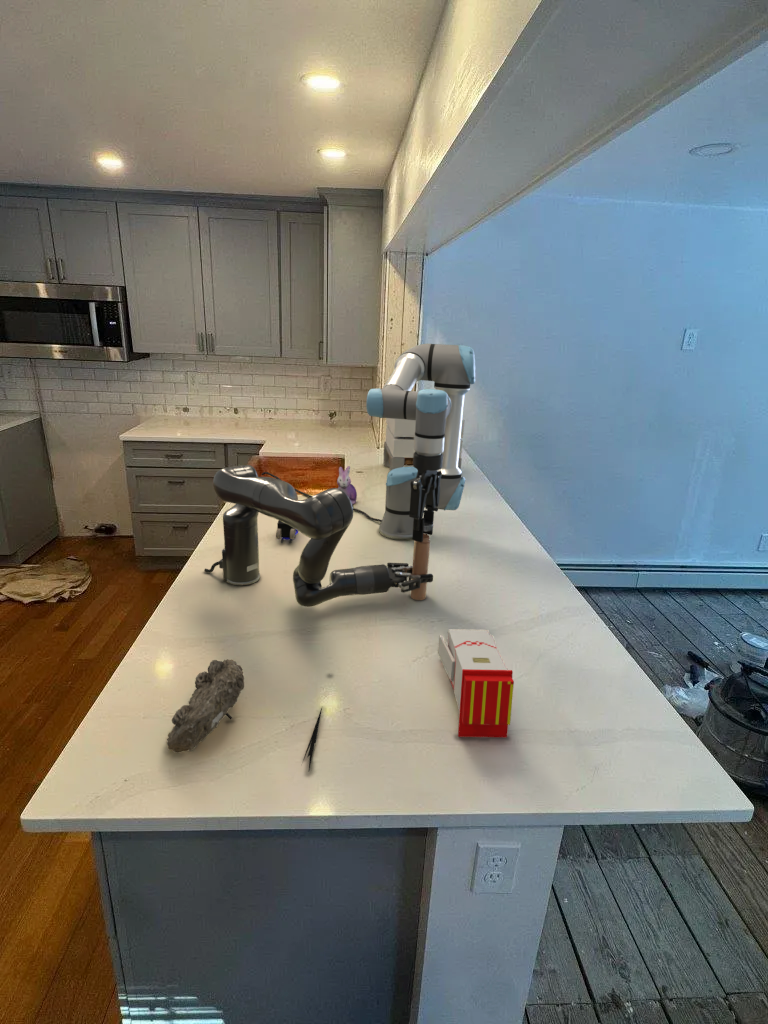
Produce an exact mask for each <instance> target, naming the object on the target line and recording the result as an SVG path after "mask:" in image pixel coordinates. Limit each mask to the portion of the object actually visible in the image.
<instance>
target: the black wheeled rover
mask: <svg viewBox="0 0 768 1024" xmlns="http://www.w3.org/2000/svg"><path fill="white" fill-rule="evenodd" d="M298 534H299V531H298V530H296V529H294V528H293V527H291V526H290V525H288V524H286V523H283V522H281V521H279V520H278V521H277V526H276V532H275V539H276V540H280V544H283V543H284V541H288V542H289V544H292V542H293V540H295V539H296V535H298Z"/></svg>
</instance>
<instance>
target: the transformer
mask: <svg viewBox="0 0 768 1024" xmlns="http://www.w3.org/2000/svg"><path fill="white" fill-rule="evenodd" d="M385 423H386V428H385V438H384V442H383V466H384V467H388V468H389V472H390V471H391V470H393V469H396V468H400V467H405V466H406V467H414V466H413V454H414V452H416V451H415V450H414V437H415V425H416V420H407V419H392V418H385ZM464 429H465V419H464V418H462V427H461V438H460V449H459V460H458V468H459V469H460V470H461V471H462V461H463V460H462V453H463V442H464V441H463V440H462V439H463V438H464V431H465V430H464Z"/></svg>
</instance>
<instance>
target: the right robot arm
mask: <svg viewBox="0 0 768 1024" xmlns="http://www.w3.org/2000/svg"><path fill="white" fill-rule="evenodd" d="M419 381H425V382H433V387H434V388H425V389H420V390H419V391H413V389H414V386H415V385H416V383H418V382H419ZM475 383H476V356H475V350H474V348H473V347H471V346H468V345H463V344H462V345H461V344H443V343H421V344H418V345H415V346H412V347H410V348H408V349H406V350H405V351H403V352H402V353H401V354H399V356H398V357H397V358H396V359H395V363H394V368H393V371H392V372H391V374H390V376H389V377H388V378H387V380H386V382H385V384H384V385H383V387H382V388H380V387H378V388H370V389H369V390H368V392H367V395H366V402H365V403H366V406H365V407H366V412H367V415H368V416H369V417H372V418H373V417H374V418H380V419H386V418H392V419H407V420H416V425H415V437H414V450H415V451H416V452H414V454H413V466H404V467H400V468H396V469H393V470H391V471H390V470H389V472H388V473H387V475H386V482H385V504H384V505H385V507H384V508H385V509H384V513H383V515H382V519H381V518H374V517H372V516H370V515H368V514H367V512H365V511H363V510H361V509H358V508H354V507H353V512H357V513H359V514H362V515H364V517H366V518H367V519H369V520H371V521H373V522H374V521H375V522H379V525H378V533H379V534H380V535H381V536H382V537H385V538H387V539H389V540H395V541H410V540H412V541H414V540H415V541H418V542H423V534H427V535H429V536H433V534H434V533H433V532H434V528H433V529H432V530H431V531H424V519H428V520H431V521H432V522H433V523H434V520H435V519H434V518H435V512H438V511H439V510H443V511H456V510H458V509H459V508H460V504H461V501H462V498H463V497H462V496H463V493H464V488H465V484H466V477H465V476H462V475H463V474H462V473H463V472H462V469H461V470H460V469H459V468H458V460H459V449H460V439H462V438H461V427H462V419H463V416H464V415H463V414H464V404H465V396H466V394H467V393H468V392H469V391H470V390H471V385H475ZM260 475H261V476H264V475H268V476H269V477H271V478H276V479H279V480H282V479H281V478H280V477H278V476H277V475H274V474H273V473H270V472H268V471H263V472H262V473H261V474H260ZM293 488H294V489H295V491H296V493H297V494H301V495H303V496H305V497H307V498H310V497H312V496H313V495H311V494H309V493H305V492H303V491H301V490H299V489H297V488H295V487H293Z"/></svg>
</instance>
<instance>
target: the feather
mask: <svg viewBox="0 0 768 1024" xmlns="http://www.w3.org/2000/svg"><path fill="white" fill-rule="evenodd" d="M329 675H330V676H331V675H332V674H331V673H330V674H329ZM322 710H323V707H321V708H320V710H319V713H318V716H317V719H316V723H315V725H314V728H313V731H312V733H311V737H310V739H309V742H308V745H307V748H306V751H305V754H304V757H303V760H302V763H301V767H302V765H303V763H304V761H305V758H308V759H309V760H308V762H307V763H308V764H307V766H308V771H310V770H311V766H312V765H311V764H312V760H313V757H315V756H314V755H315V751H316V749H315V746H317V739H318V733H319V729H320V722H321V717H322V712H323V711H322ZM313 754H314V755H313ZM306 755H307V757H306Z"/></svg>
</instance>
